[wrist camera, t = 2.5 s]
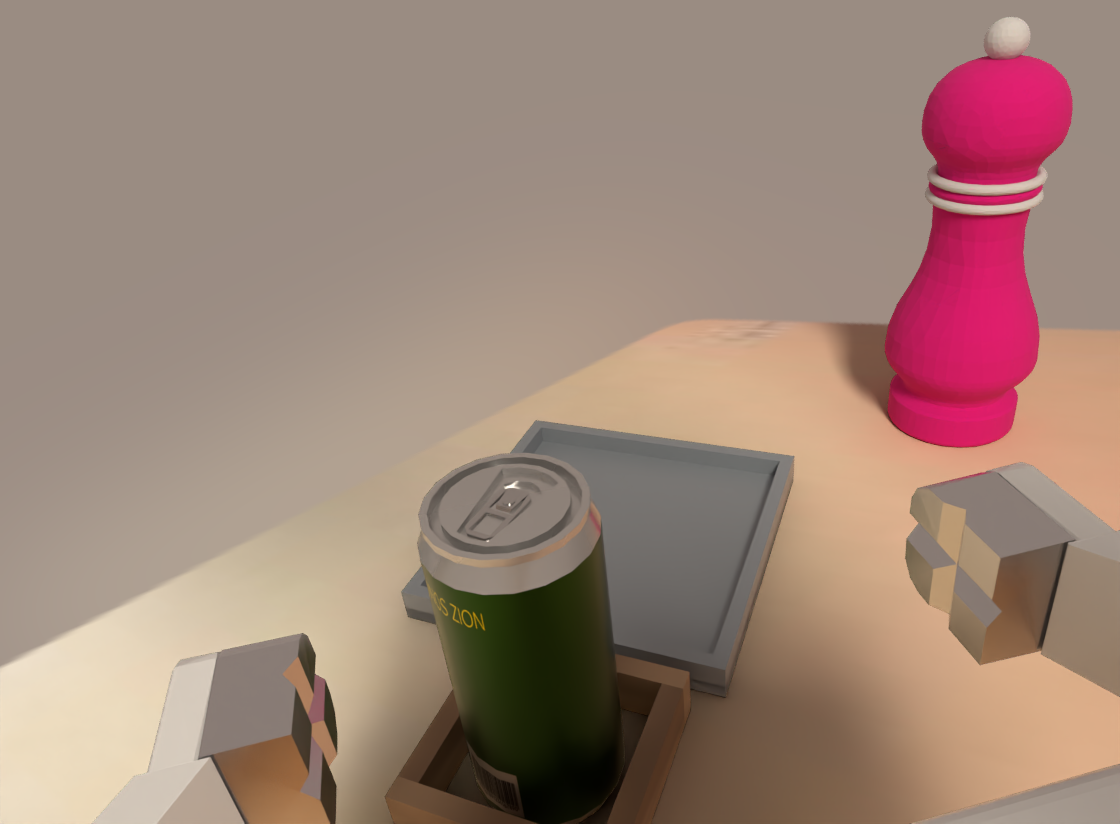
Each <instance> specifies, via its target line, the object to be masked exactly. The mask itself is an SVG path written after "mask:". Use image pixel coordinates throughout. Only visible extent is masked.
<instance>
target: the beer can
mask: <svg viewBox="0 0 1120 824" xmlns="http://www.w3.org/2000/svg"><path fill="white" fill-rule="evenodd" d="M419 520H420V525H421V532H420V536H419V539H418V542H417V544H418V550H419V555H420V561H421V565H422V569H423V573H424V577H425V581H426V585H427V589H428V593H429V596H430V600H431V604H432V608H433V612H434V616H435V620H436V624H437V628H438V632H439V636H440V640H441V644H442V648H443V652H444V656H445V660H446V664H447V668H448V672H449V676H450V680H451V684H452V687H453V691H454V695H455V699H456V703H457V707H458V711H459V715H460V719H461V723H462V727H463V731H464V735H465V739H466V743H467V747H468V751H469V755H470V759H471V763H472V767H473V771H474V775H475V779H476V782H477V786H478V788H479V790H480V791H481V793H482V794H483V796H484V797H485V799H486V801H487V802H488V804H489V805H490V806H491V807H493V808H494V809H496V810H499V811H502V812H505V813H508V814H511V815H514V816H517V817H519V818H522V819H525V820H528V821H531V822H534V823H537V824H578V823H580V822H582V821H583V820H585V819H586V818H588V817H589V816H591V815H592V814H594V813H595V812H596V811H598V810H599V808H600V807H601V806H602V804H603V803H604V802H605V801H606V799H607V798H608V797H609V796H610V794H611V793H612V791H613V790H614V788H615V787H616V785H617V783H618V781H619V778H620V775H621V772H622V769H623V767H624V764H625V761H624V735H623V725H622V715H621V706H620V696H619V686H618V677H617V667H616V657H615V648H614V638H613V628H612V618H611V609H610V599H609V589H608V580H607V570H606V560H605V550H604V541H603V531H602V521H601V515H600V513H599V511H598V509H597V507H596V505H595V503H594V501H593V499H592V498H591V493H590V488H589V486H588V484H587V482H586V480H585V478H584V476H583V475H582V474H581V473H580V472H579V471H577V470H576V469H575V468H574V467H572V466H571V465H570V464H569V463H566V462H564V461H561V460H558V459H556V458H553V457H551V456H547V455H539V454H532V453H511V454H499V455H495V456H491V457H487V458H482V459H478V460H475V461H473V462H471V463H468V464H466V465H464V466H461V467H459V468H457V469H454V470H453V471H452V472H450V473H449V474H447V475H446V476H445V477H443V478H442V479H440V480H439V481H438V482H436V483H435V485H434V486H433V487H432V488H431V490H430V491H429V492H428V493H427V495H426V496H425V497H424V499H423V502H422V505H421V508H420V511H419Z"/></svg>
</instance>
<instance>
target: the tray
mask: <svg viewBox="0 0 1120 824" xmlns="http://www.w3.org/2000/svg"><path fill="white" fill-rule="evenodd" d="M511 453H532V454H539V455H547V456H551V457H553V458H556V459H558V460H561V461H564V462H566V463H569V464H570V465H571V466H572V467H574V468H575V469H576V470H577V471H579V472H580V473H581V474H582V475H583V476H584V478H585V480H586V482H587V484H588V486H589V488H590V493H591V498H592V499H593V501H594V503H595V505H596V507H597V509H598V511H599V513H600V515H601V521H602V531H603V541H604V550H605V560H606V570H607V580H608V589H609V599H610V609H611V618H612V628H613V638H614V648H615V654H618V655H622V656H627V657H631V658H635V659H639V660H643V661H647V662H651V663H655V664H659V665H663V666H667V667H671V668H675V669H679V670H684V671H688V672H689V674H690V689H694V690H698V691H702V692H706V693H710V694H714V695H718V696H722V697H726V695H727V691H728V688H729V685H730V682H731V679H732V675H733V672H734V669H735V666H736V663H737V659H738V656H739V653H740V650H741V647H742V643H743V640H744V637H745V634H746V630H747V627H748V624H749V621H750V618H751V614H752V611H753V608H754V605H755V602H756V598H757V595H758V592H759V589H760V586H761V582H762V579H763V576H764V573H765V569H766V566H767V563H768V560H769V557H770V553H771V550H772V547H773V544H774V541H775V537H776V534H777V531H778V528H779V525H780V521H781V518H782V515H783V512H784V508H785V505H786V502H787V499H788V496H789V492H790V489H791V486H792V483H793V474H794V456H789V455H782V454H775V453H768V452H760V451H753V450H746V449H739V448H732V447H724V446H717V445H710V444H703V443H695V442H688V441H681V440H674V439H667V438H659V437H652V436H645V435H638V434H630V433H623V432H616V431H609V430H602V429H594V428H587V427H580V426H573V425H566V424H558V423H551V422H544V421H537V420H536V421H535V422H534V423H533V425H532V426H531V427H530V429H529V430H528V431H527V432H526V434H525V435H524V436H523V437H522V439H521V440H520V441H519V443H518V444H517V445H516V446H515V448H514V449H513V450H512V451H511ZM511 453H510V454H511ZM401 593H402V597H403V600H404V604H405V608H406V611H407V615H408V617H410V618H414V619H418V620H422V621H426V622H430V623H434V624H436V620H435V616H434V612H433V608H432V604H431V600H430V596H429V593H428V589H427V585H426V581H425V577H424V573H423V569H422V566H421V567H420V569H419V570H418V571H417V573H416V574H415V575H414V576H413V578H412V579H411V580H410V581H409V583H408V584H407V585H406V587H405V588H404V589H403V590H402V592H401Z"/></svg>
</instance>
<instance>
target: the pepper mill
mask: <svg viewBox="0 0 1120 824" xmlns="http://www.w3.org/2000/svg"><path fill="white" fill-rule="evenodd" d="M1029 41H1030V30H1029V27H1028V25H1027V24H1026V23H1025V22H1024V21H1023V20H1021V19H1019V18H1016V17H1007V18H1003V19H1001V20H998V21H997V22H996V23H994V24H993V25H992V26H991V27H990V28H989V30H988V31H987V33H986V35H985V39H984V48H985V51H986V53H987V54H988V56H987V57H982V58H978V59H975V60H972V61H969V62H967V63H965V64H962V65H960V66H958V67H956V68H955V69H953V70H952V71H950V72H949V73H948V74H947V75H946V76H945V77H944V78H943V79H942V80H941V81H939V82H938V83H937V85H936V87H935V88H934V90H933V91H932V93H931V94H930V96H929V98H928V101H927V104H926V107H925V109H924V114H923V120H922V136H923V140H924V142H925V145H926V147H927V149H928V150H929V151H930V153H931V154H932V155H933V156H934V158H935V160H936V161H937V164H936V165H934V166H933V167H931V168H930V169H929V171H928V174H927V176H928V180H929V187H928V188H927V190H926V192H925V197H926V198H927V200H928V201H929V203H931V204H933V218H932V228H931V233H930V237H929V242H928V246H927V250H926V252H925V255H924V258H923V260H922V263H921V265H920V268H919V270H918V272H917V273H916V275H915V277H914V279H913V280H912V282H911V284H910V285H909V287H908V288H907V290H906V291H905V293H904V295H903V296H902V298H901V299H900V301H899V302H898V304H897V306H896V308H895V311H894V313H893V315H892V318H891V320H890V322H889V325H888V330H887V335H886V341H885V353H886V357H887V360H888V362H889V364H890V365H891V367H892V368H893V370H894V371H895V372H896V373H897V375H895V376H894V377H893V379H892V381H891V384H890V391H889V400H888V414H889V417H890V418H891V420H892V422H893V423H894V424H895V425H896V426H897V427H898V428H899V429H900V430H902V431H903V432H905V433H906V434H908V435H910V436H912V437H914V438H917V439H919V440H922V441H925V442H928V443H932V444H936V445H941V446H951V447H974V446H980V445H985V444H989V443H991V442H994V441H996V440H999V439H1000V438H1002V437H1003V436H1004V435H1006V434H1007V433H1008V432H1009V430H1010V429H1011V427H1012V425H1013V421H1014V416H1015V410H1016V405H1017V400H1018V395H1017V392H1016V390H1015V389H1014V387H1015V386H1017V385H1018V384H1019V383H1021V382H1022V381H1023V380H1024V379H1025V378H1026V377H1027V376H1028V375H1029V374H1030V373H1031V372H1032V371H1033V369H1034V367H1035V364H1036V362H1037V356H1038V347H1039V336H1040V334H1039V326H1038V317H1037V314H1036V310H1035V307H1034V303H1033V300H1032V297H1031V293H1030V289H1029V286H1028V282H1027V278H1026V274H1025V266H1024V256H1023V249H1024V237H1025V227H1026V223H1027V219H1028V216H1029V212H1030V209H1031V208H1034V207H1035V206H1037V205H1038V204H1039V203H1040V202H1041V201H1042V199H1043V191H1042V186H1043V185H1042V184H1043V183H1044V182H1045V181H1046V179H1047V172H1046V171H1045V169H1044V168H1043V167H1042V166H1040V165H1041V164H1042V162H1043V161H1044V160H1045V159H1046V158H1047V157H1048V156H1049V155H1050V154H1052V153H1053V152H1054V151H1055V150H1056V149H1057V148H1058V147H1059V146H1060V145H1061V144H1062V143H1063V141H1064V139H1065V137H1066V135H1067V132H1068V130H1069V127H1070V124H1071V117H1072V96H1071V91H1070V88H1069V86H1068V83H1067V81H1066V79H1065V78H1064V77H1063V75H1062V74H1060V72H1058V71H1057V70H1056V69H1055V68H1054V67H1053V66H1052V65H1051V64H1049V63H1047V62H1045V61H1042V60H1040V59H1037V58H1033V57H1030V56H1023V55H1021V54H1022V53H1023V52H1024V51H1025V49H1026V48H1027V46H1028V44H1029Z"/></svg>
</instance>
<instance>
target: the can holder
mask: <svg viewBox="0 0 1120 824" xmlns="http://www.w3.org/2000/svg"><path fill="white" fill-rule="evenodd" d="M615 657H616V667H617V677H618V686H619V696H620V706H621V708H622V709H625V710H629V711H633V712H636V713H640V714H644V715H647V716H649V717H648V719H647V722H646V724H645V727H644V730H643V732H642V735H641V737H640V740H639V742H638V745H637V747H636V750H635V753H634V755H633V758H632V760H631V763H630V765H629V768H628V770H627V773H626V775H625V778H624V781H623V783H622V786H621V788H620V791H619V793H618V796H617V798H616V801H615V804H614V806H613V809H612V811H611V814H610V816H609V819H608V821H607V824H651V822H652V819H653V816H654V813H655V810H656V808H657V805H658V802H659V799H660V796H661V793H662V790H663V787H664V784H665V782H666V779H667V776H668V773H669V770H670V767H671V764H672V761H673V759H674V756H675V753H676V750H677V747H678V744H679V741H680V738H681V736H682V733H683V730H684V727H685V724H686V721H687V718H688V715H689V713H690V710H691V700H690V674H689V672H688V671H684V670H679V669H675V668H671V667H667V666H663V665H659V664H655V663H651V662H647V661H643V660H639V659H635V658H631V657H627V656H622V655H618V654H615ZM467 753H468V747H467V743H466V739H465V735H464V731H463V727H462V723H461V719H460V715H459V711H458V707H457V703H456V699H455V695H454V691H453V690H452V692H451V693H450V695H449V696H448V698H447V699H446V701H445V703H444V704H443V706H442V707H441V709H440V710H439V712H438V714H437V715H436V717H435V718H434V720H433V721H432V723H431V725H430V726H429V728H428V729H427V731H426V733H425V734H424V736H423V737H422V739H421V740H420V742H419V744H418V745H417V747H416V748H415V750H414V751H413V753H412V755H411V756H410V758H409V759H408V761H407V762H406V764H405V766H404V767H403V769H402V770H401V772H400V774H399V775H398V777H397V778H396V780H395V781H394V783H393V785H392V786H391V788H390V789H389V791H388V792H387V794H386V796H385V799H386V802H387V804H388V807H389V810H390V813H391V816H392V819H393V822H394V824H537V823H534V822H531V821H528V820H525V819H522V818H519V817H517V816H514V815H511V814H508V813H505V812H502V811H499V810H496V809H493V808H490V807H487V806H484V805H481V804H478V803H475V802H472V801H470V800H467V799H464V798H461V797H458V796H455V795H452V794H449V793H446V792H445V791H446V789H447V788H448V786H449V784H450V783H451V781H452V779H453V777H454V776H455V774H456V772H457V770H458V769H459V767H460V765H461V763H462V762H463V760H464V758H465V756H466V755H467Z"/></svg>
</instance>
